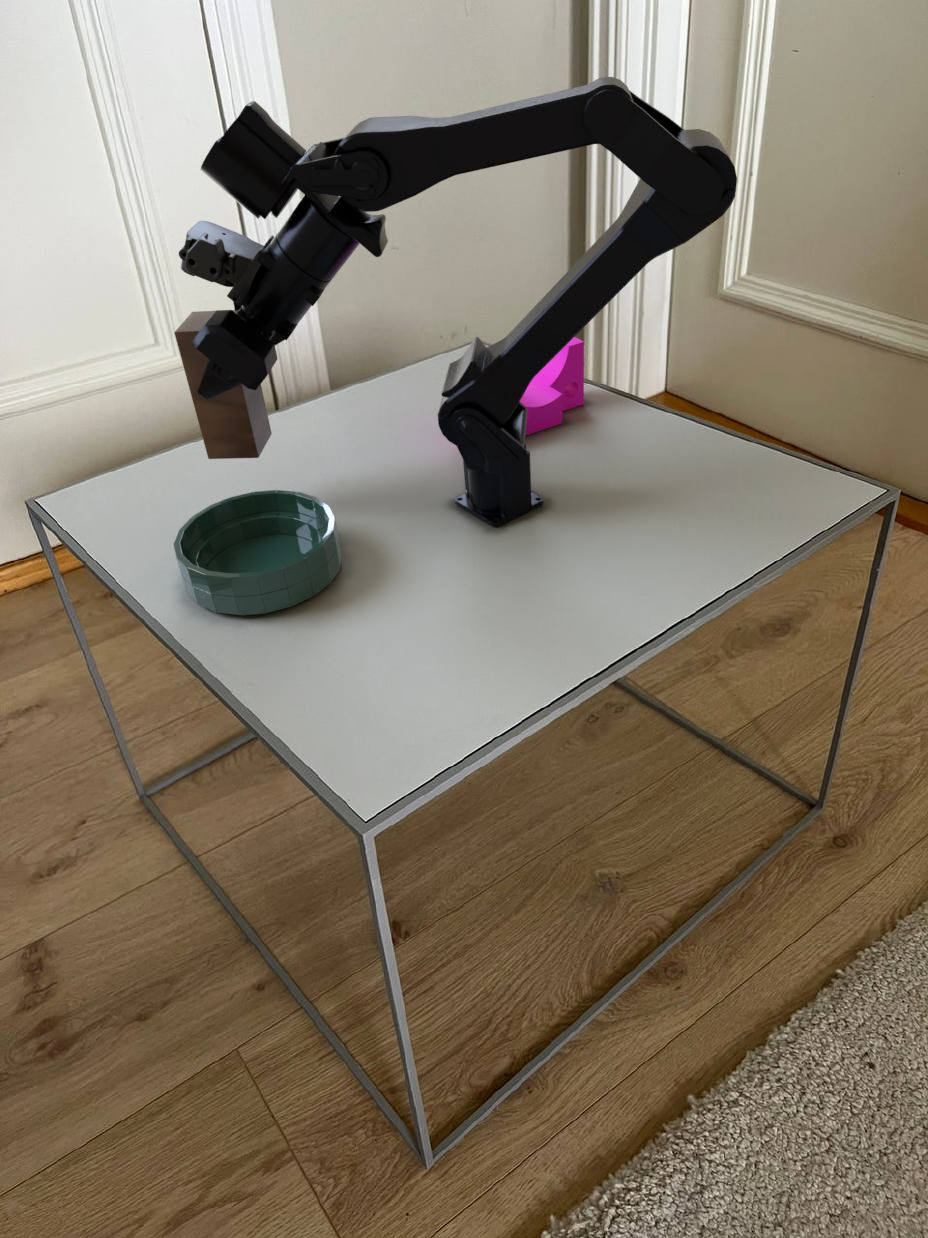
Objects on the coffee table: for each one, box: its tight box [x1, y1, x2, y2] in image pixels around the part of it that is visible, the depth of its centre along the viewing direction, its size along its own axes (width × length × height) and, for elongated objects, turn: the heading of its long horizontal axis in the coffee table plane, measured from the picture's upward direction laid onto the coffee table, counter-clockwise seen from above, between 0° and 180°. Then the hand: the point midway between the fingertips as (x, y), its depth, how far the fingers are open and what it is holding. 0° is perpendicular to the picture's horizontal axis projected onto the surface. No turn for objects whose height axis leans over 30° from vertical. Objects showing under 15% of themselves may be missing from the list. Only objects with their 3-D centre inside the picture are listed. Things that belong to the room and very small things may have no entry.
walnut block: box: [173, 309, 272, 460], centre depth 88 cm, size 5×5×12 cm
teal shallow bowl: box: [173, 489, 343, 616], centre depth 85 cm, size 14×14×4 cm
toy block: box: [520, 336, 585, 436], centre depth 105 cm, size 15×6×8 cm, turn 119°
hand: (211, 382), depth 88 cm, fingers closed on walnut block, 5 cm apart
